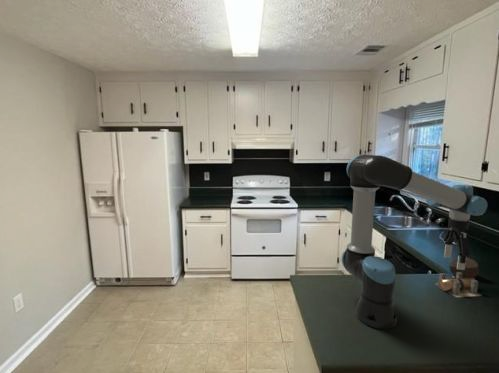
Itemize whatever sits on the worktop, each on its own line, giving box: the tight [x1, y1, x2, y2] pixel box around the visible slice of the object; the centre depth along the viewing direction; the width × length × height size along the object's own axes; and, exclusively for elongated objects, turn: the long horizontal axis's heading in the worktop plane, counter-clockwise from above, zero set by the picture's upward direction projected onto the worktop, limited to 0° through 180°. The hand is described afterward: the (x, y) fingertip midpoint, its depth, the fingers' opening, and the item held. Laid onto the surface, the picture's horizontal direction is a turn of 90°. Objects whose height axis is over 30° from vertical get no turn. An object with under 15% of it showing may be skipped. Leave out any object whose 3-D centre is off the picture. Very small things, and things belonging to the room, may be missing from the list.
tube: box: [437, 278, 476, 292], centre depth 131 cm, size 16×5×5 cm, turn 97°
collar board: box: [434, 272, 483, 298], centre depth 131 cm, size 13×13×7 cm
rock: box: [449, 256, 480, 279], centre depth 144 cm, size 12×10×10 cm
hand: (453, 263), depth 129 cm, fingers open, 13 cm apart
